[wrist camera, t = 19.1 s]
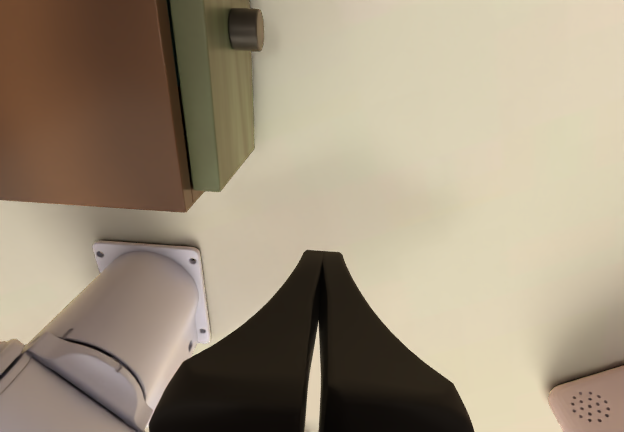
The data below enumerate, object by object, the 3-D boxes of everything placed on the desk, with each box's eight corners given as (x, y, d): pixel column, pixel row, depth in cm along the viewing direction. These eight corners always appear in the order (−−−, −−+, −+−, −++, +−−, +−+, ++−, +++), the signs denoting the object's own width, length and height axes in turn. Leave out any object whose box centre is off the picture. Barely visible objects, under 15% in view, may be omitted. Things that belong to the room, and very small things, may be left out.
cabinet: (223, -139, 15) (109, -326, 8) (239, 153, 21) (186, 213, 14) (-84, -148, 16) (-478, -329, 8) (18, 139, 22) (-151, 190, 14)
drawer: (272, -129, 15) (227, -252, 9) (274, 150, 20) (248, 194, 14) (-51, -138, 15) (-307, -260, 9) (38, 136, 21) (-84, 172, 15)
